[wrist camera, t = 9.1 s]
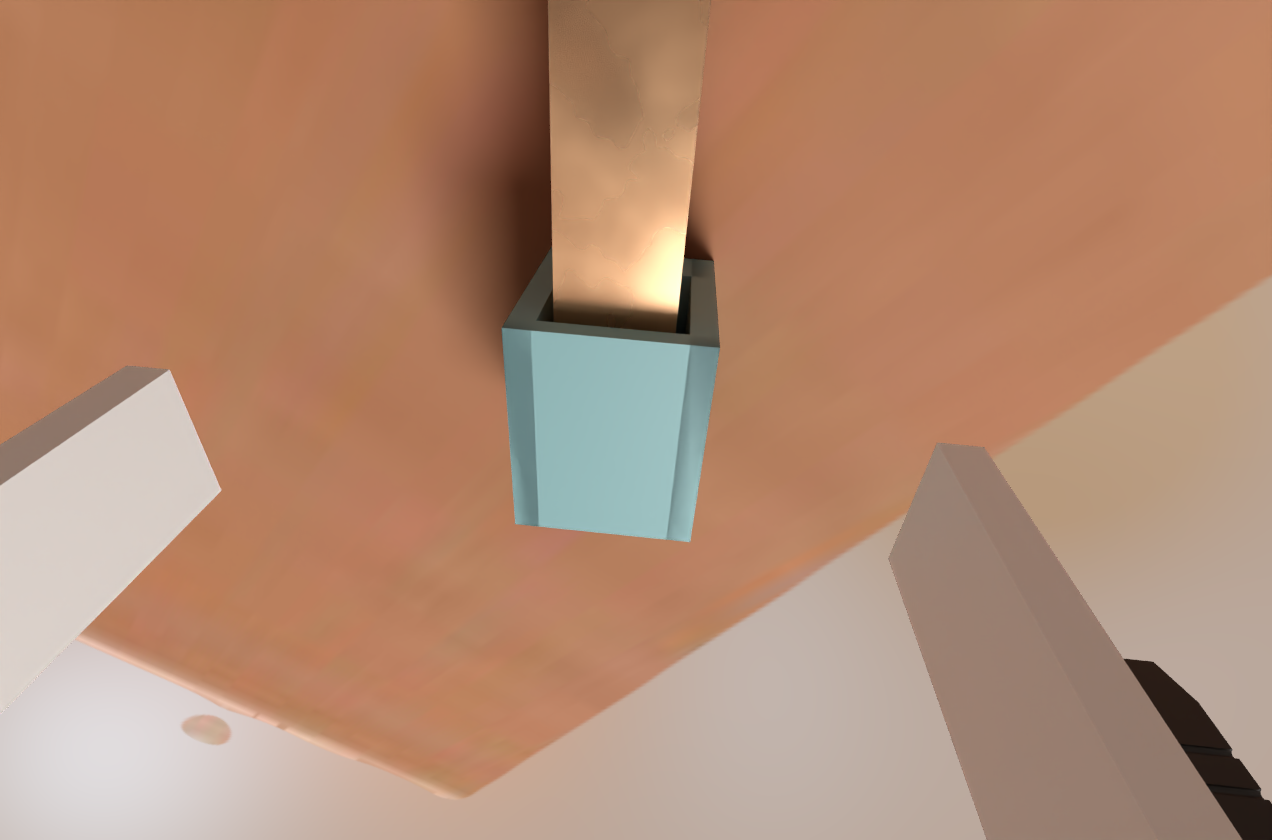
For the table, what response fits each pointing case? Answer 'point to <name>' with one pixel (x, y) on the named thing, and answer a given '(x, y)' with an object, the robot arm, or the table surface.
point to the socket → (610, 413)
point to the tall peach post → (622, 156)
